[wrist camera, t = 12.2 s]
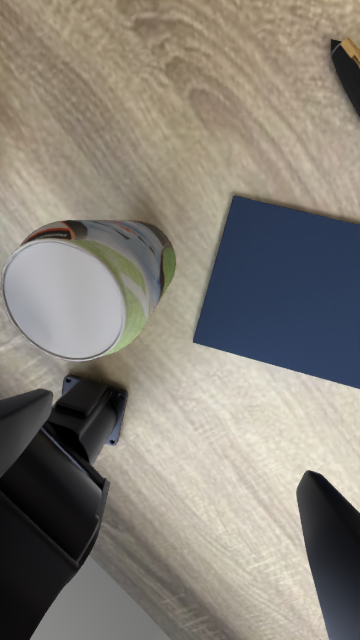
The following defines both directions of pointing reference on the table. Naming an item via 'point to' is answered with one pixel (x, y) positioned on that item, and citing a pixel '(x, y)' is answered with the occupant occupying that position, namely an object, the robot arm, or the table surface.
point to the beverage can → (86, 285)
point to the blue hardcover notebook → (286, 291)
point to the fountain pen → (348, 68)
